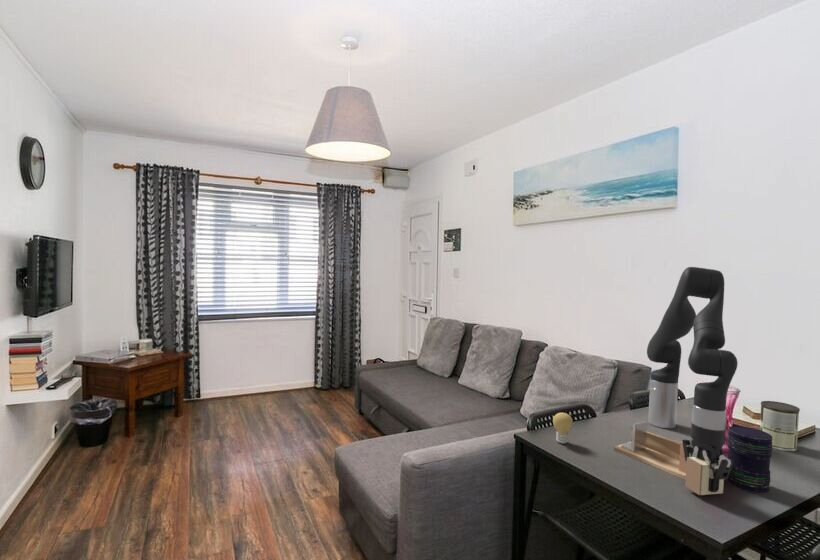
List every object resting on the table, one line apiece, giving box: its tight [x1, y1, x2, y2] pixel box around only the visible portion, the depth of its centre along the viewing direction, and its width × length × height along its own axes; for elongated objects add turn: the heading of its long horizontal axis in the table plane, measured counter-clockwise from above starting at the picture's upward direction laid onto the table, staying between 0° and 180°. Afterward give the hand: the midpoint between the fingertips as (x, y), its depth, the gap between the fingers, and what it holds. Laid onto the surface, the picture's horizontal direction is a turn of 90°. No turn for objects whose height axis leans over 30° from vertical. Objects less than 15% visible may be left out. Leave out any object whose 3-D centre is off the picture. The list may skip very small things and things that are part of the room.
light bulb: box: [552, 412, 574, 444], centre depth 146 cm, size 6×6×10 cm
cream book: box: [684, 457, 725, 496], centre depth 115 cm, size 7×4×8 cm, turn 101°
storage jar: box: [725, 425, 773, 495], centre depth 120 cm, size 10×10×15 cm
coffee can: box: [759, 400, 801, 452], centre depth 150 cm, size 10×10×14 cm
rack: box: [613, 426, 692, 481], centre depth 133 cm, size 10×25×10 cm, turn 31°
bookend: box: [620, 420, 649, 452], centre depth 141 cm, size 7×4×9 cm, turn 121°
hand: (704, 486), depth 115 cm, fingers closed on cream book, 4 cm apart
